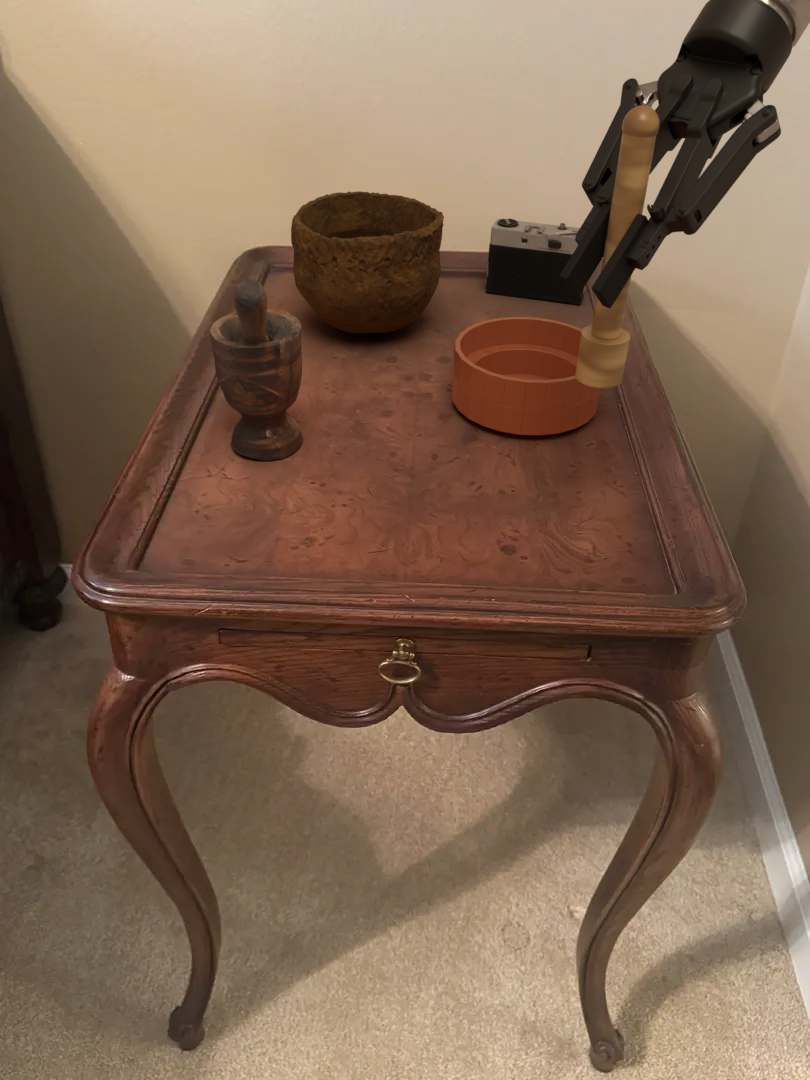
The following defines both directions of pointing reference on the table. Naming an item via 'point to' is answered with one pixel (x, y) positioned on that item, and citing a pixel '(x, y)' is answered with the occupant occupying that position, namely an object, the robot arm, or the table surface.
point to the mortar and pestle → (259, 372)
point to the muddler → (606, 336)
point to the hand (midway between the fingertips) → (584, 292)
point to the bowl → (367, 259)
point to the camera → (530, 260)
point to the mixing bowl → (521, 376)
